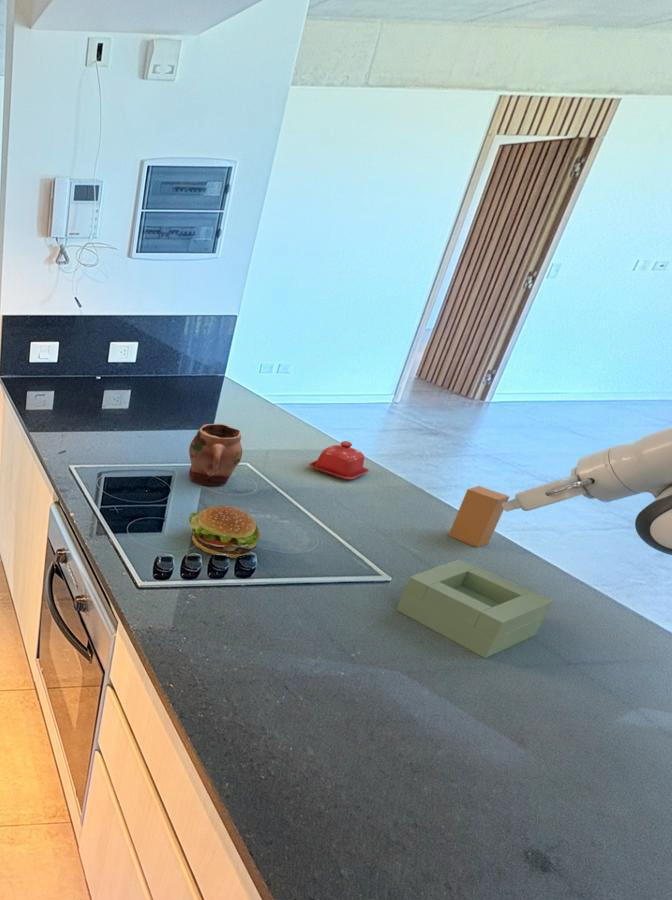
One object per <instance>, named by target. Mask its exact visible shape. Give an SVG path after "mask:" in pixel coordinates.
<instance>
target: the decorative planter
mask: <svg viewBox="0 0 672 900" xmlns="http://www.w3.org/2000/svg"><path fill="white" fill-rule="evenodd" d="M241 441H242V434H241V431H240V430H239V429H237V428H235V427H231V426H229V425H228V424H223V423H208V424H207V423H206V424H203V425H202V426H201V427H200V428H199V429H198V431H197V433H196V434H195V436H194V437H193V439H192V440H191V442H190V445H189V449H188V455H189V459H190V467H189V470H188V475H189V479H190V480H191V481H192V482H193V483H195V484H198V485H204V486H212V487H213V486H214V487H216V486H217V487H218V486H224V485H226V484H227V483H228V481H229V479H230V478H231V476H232V474H233V473H234V471H235V470H236V468H237V467H238V465H239V464H240V463H241V460H242V456H243V446H242V442H241Z"/></svg>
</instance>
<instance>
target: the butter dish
mask: <svg viewBox="0 0 672 900" xmlns="http://www.w3.org/2000/svg"><path fill="white" fill-rule="evenodd" d="M352 446H353V443H352V442H351V441H348V440H343V441H341V442H340V444H334V445H330V446H328V447H326V448H324V449H322V451H321V453H320V455H319V456H318V458H317V459H316V460H314V461H312V462H310V463H308V466H309V468H312V469H315V470H317V471H318V472H321V473H325V474H327V475H330V476H333V477H337V478H339V479H342V480H353V479H356V478H359V477H361V476H363V475H365V474H367V473H368V472H370V471H371V470H370V469H369V468H367V467H364V464H365V455H364V453H363V452H362V451H360V450H358V449H356V448H354V447H352Z"/></svg>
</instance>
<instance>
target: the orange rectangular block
mask: <svg viewBox="0 0 672 900" xmlns="http://www.w3.org/2000/svg"><path fill="white" fill-rule="evenodd" d="M509 499H510V495H506V494H505V493H501V492H498V491H496V490H492V489H489V488H487V487H484V486H481V485H477V486H474V487H471V488H467V489H466V492H465V494H464V497H463V499H462V501H461V504H460V506H459V508H458V510H457V513H456V516H455V518H454V521H453V522H452V526H451V528H450V531H449V533H448V536H449V537H451V538H453V539H456V540H458V541H460V542H463V543H466V544H468V545H469V546H472V547H475V548H480V547H482V546H485V545H488V544H489V543H490V542H491V541H490V540H491V538H492V537H493V534H494V532H495V530H496V527H497V525H498V523H499V521H500V519H501V517H502V514H503V512H504V511H505V510H504V509H503V507H502V503H504V502H507V501H509Z"/></svg>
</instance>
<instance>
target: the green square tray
mask: <svg viewBox="0 0 672 900" xmlns="http://www.w3.org/2000/svg"><path fill="white" fill-rule="evenodd" d="M553 603H554V600H553V599H551V598H549V597H546V596H544V595H542V594H540V593H537V592H534V591H533V590H530V589H528V588H526V587H524V586H521V585H519V584H518V583H517V584H516V583H515V582H512V581H510V580H508V579H505V578H503V577H501V576H499V575H496V574H494V573H492V572H490V571H487V570H485V569H483V568H480V567H478V566H476V565H475V564H471V563H470V562H467V561H465V560H463V559H460V558H458V559H456V560H453V561H450V562H447V563H444V564H442V565H439V566H436V567H433V568H429V569H427V570H425V571H422V572H419V573H416V574H413V575H410V576H409V577H408V579H407V582H406V584H405V587H404V589H403V592H402V595H401V597H400V599H399V602H398V604H397V607H396V611H397V612H399V613H401V614H403V615H404V616H406V617H409V618H411V619H412V620H413V621H416V622H418V623H419V624H421V625H423V626H425V627H426V628H428V629H430V630H432V631H434V632H435V633H437V634H439V635H441V636H443V637H445V638H446V639H448V640H450V641H452V642H454V643H456V644H458V645H460V646H461V647H463V648H465V649H466V650H469V651H470V652H472V653H474V654H475V655H478V656H479V657H481V658H483V659H487V658H489V657H491V656H493V655H495V654H498V653H501V652H502V651H504V650H507V649H509V648H511V647H513V646H515V645H517V644H519V643H522V642H524V641H526V640H528V639H531V638H533V637H535V636H536V635H537V633H538V632H539V629H540V627H541V625H542V624H543V622H544V620H545V618H546V616H547V614H548V613H549V611H550V608H551V607H552V605H553Z"/></svg>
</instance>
